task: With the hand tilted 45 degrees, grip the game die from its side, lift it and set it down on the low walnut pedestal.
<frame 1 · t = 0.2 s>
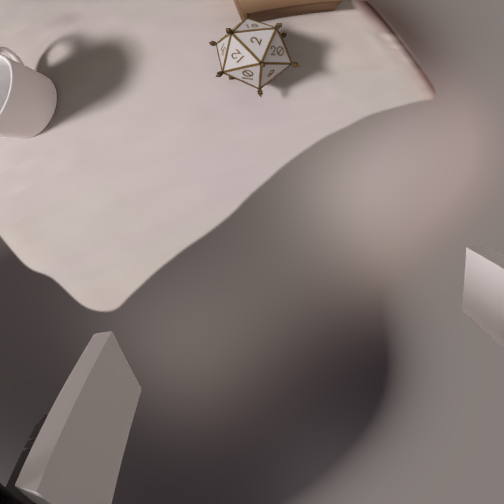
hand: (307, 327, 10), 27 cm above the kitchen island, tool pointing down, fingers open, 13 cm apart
mug: (32, 96, 30), on the kitchen island
game die: (249, 65, 32), on the kitchen island
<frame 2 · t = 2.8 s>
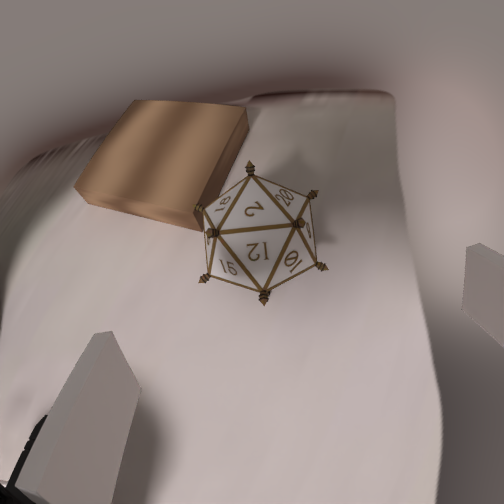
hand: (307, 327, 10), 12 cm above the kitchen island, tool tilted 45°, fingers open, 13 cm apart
pedestal: (166, 164, 30), on the kitchen island
game die: (263, 261, 25), on the kitchen island
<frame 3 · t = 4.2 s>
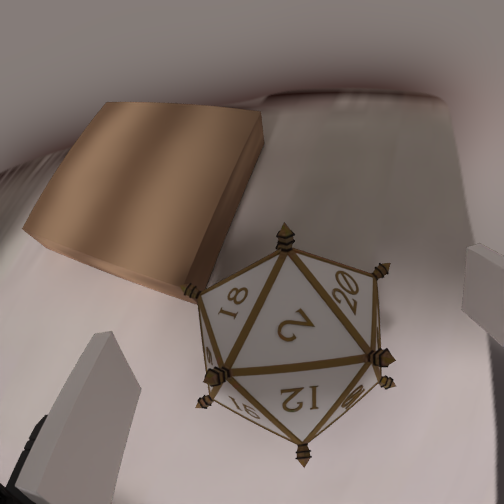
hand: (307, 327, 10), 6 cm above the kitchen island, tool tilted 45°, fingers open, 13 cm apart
pedestal: (146, 193, 21), on the kitchen island
game die: (291, 353, 16), on the kitchen island
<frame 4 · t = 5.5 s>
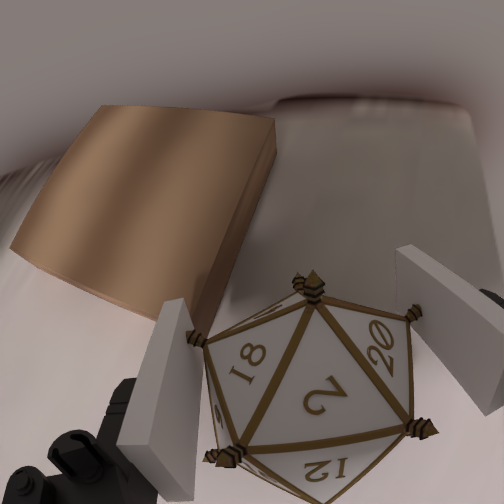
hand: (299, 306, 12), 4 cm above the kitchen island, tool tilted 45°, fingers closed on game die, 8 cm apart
pedestal: (145, 209, 19), on the kitchen island
game die: (305, 394, 14), on the kitchen island, touching gripper
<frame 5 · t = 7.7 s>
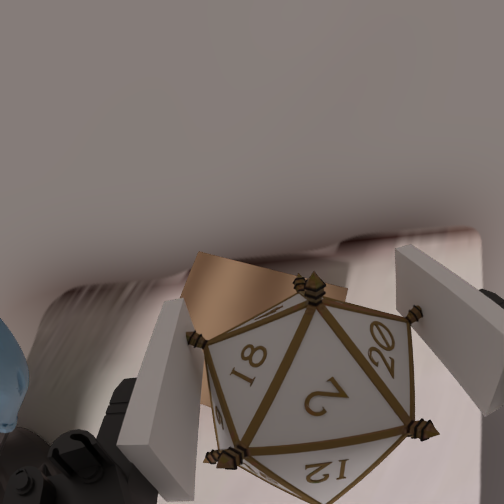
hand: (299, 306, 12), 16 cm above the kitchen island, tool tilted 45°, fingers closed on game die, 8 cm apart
pedestal: (252, 345, 27), on the kitchen island
game die: (306, 395, 14), point 12 cm above the kitchen island, touching gripper
when the fingers open (8 cm above the kitchen island, at t = 9.9 s): game die drops 1 cm, resting on pedestal.
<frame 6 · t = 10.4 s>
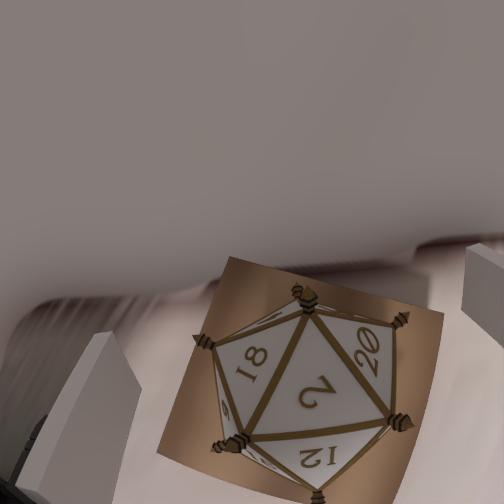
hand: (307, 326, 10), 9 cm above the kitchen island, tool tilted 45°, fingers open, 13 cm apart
pedestal: (306, 393, 18), on the kitchen island
game die: (303, 391, 15), point 3 cm above the kitchen island, touching pedestal
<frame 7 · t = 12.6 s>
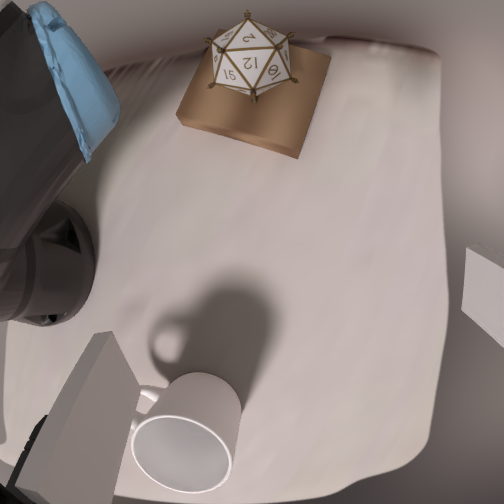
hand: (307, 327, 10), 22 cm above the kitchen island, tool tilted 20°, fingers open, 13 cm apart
mug: (189, 397, 32), on the kitchen island
pedestal: (257, 93, 32), on the kitchen island
game die: (253, 80, 30), point 3 cm above the kitchen island, touching pedestal
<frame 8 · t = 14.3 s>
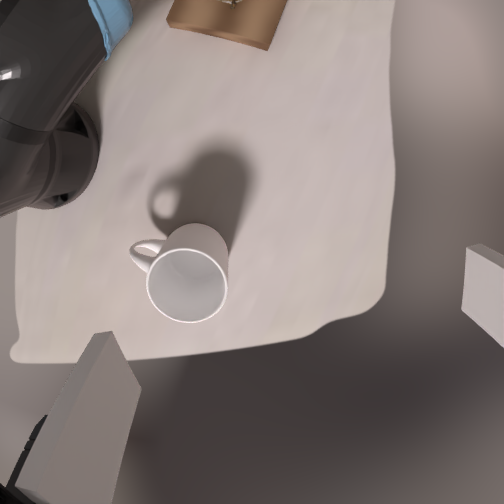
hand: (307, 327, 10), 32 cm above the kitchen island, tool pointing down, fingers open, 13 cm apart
mug: (184, 248, 42), on the kitchen island
pedestal: (233, 0, 32), on the kitchen island
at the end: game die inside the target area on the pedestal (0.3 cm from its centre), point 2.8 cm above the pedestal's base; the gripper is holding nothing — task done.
